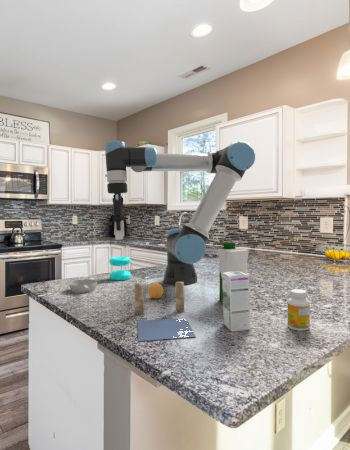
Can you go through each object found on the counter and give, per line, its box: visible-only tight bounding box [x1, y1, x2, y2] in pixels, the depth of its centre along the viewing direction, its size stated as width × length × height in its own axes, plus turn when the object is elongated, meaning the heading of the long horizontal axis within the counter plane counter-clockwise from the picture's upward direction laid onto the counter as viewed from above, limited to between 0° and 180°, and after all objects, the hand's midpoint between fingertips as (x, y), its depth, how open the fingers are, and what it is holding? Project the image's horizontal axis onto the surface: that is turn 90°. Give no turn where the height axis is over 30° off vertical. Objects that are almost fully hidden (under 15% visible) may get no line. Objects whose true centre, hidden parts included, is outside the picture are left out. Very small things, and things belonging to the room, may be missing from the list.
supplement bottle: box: [287, 288, 311, 332], centre depth 82 cm, size 5×5×10 cm
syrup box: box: [222, 271, 251, 332], centre depth 82 cm, size 6×6×14 cm
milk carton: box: [217, 241, 250, 303], centre depth 106 cm, size 9×9×20 cm
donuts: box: [108, 256, 132, 281], centre depth 146 cm, size 10×10×10 cm
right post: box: [174, 282, 185, 313], centre depth 97 cm, size 3×3×9 cm
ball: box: [147, 282, 164, 299], centre depth 112 cm, size 6×6×6 cm
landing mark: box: [137, 318, 197, 343], centre depth 82 cm, size 14×14×1 cm
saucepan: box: [68, 278, 98, 294], centre depth 122 cm, size 11×18×4 cm, turn 23°
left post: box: [134, 282, 145, 316], centre depth 95 cm, size 3×3×9 cm
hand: (120, 238), depth 120 cm, fingers open, 13 cm apart
